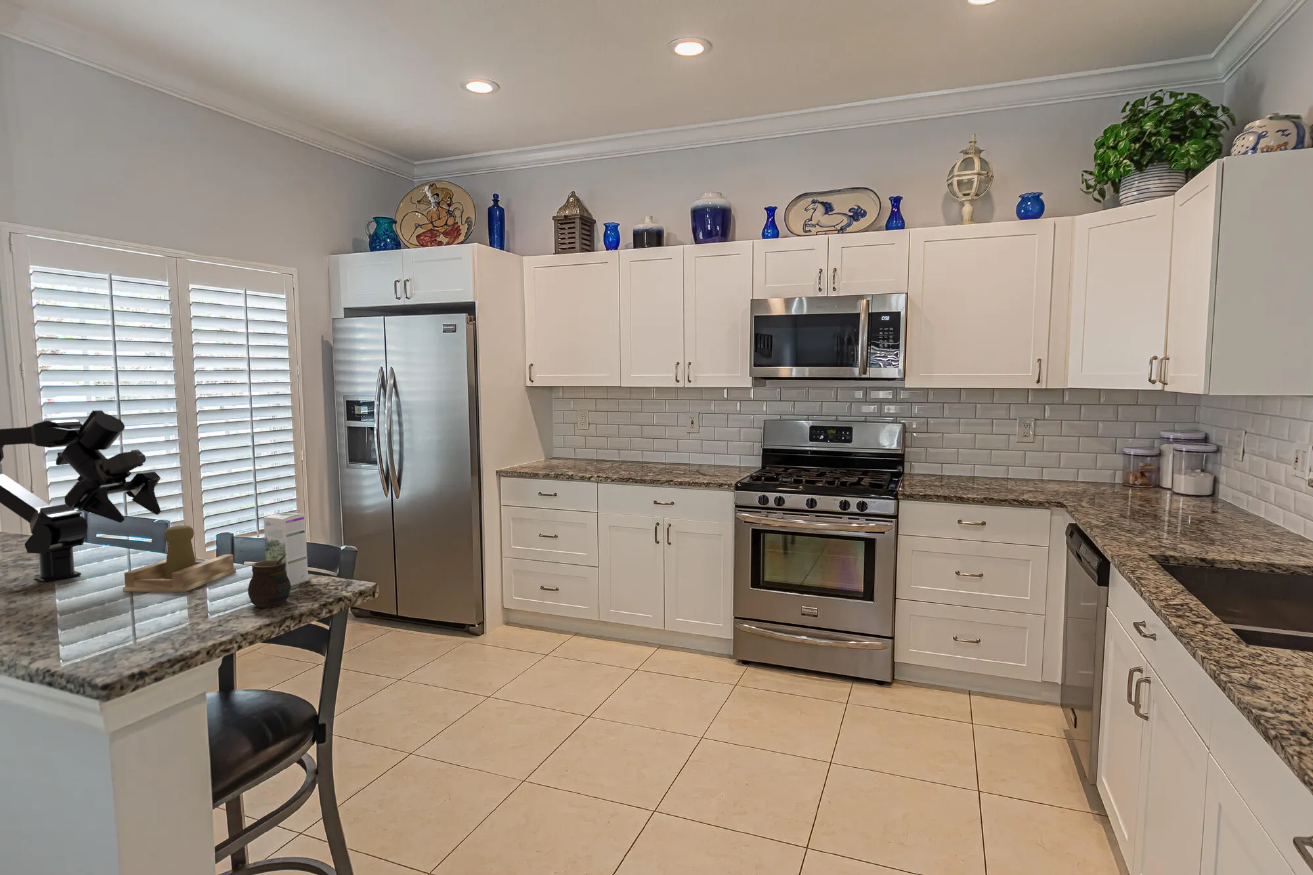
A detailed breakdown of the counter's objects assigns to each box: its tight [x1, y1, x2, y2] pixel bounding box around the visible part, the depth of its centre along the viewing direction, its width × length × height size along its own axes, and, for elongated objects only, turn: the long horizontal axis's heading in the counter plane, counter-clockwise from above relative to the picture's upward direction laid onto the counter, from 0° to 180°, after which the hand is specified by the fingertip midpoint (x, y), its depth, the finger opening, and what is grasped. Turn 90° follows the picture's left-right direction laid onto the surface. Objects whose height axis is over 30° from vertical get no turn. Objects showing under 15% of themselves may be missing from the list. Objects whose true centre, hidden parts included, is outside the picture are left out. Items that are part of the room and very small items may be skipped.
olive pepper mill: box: [163, 524, 197, 579], centre depth 151 cm, size 6×6×11 cm
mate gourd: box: [247, 554, 292, 609], centre depth 134 cm, size 7×8×10 cm
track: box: [122, 554, 237, 593], centre depth 152 cm, size 16×13×4 cm
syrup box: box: [263, 512, 309, 587], centre depth 149 cm, size 6×6×14 cm
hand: (141, 517), depth 152 cm, fingers open, 9 cm apart
